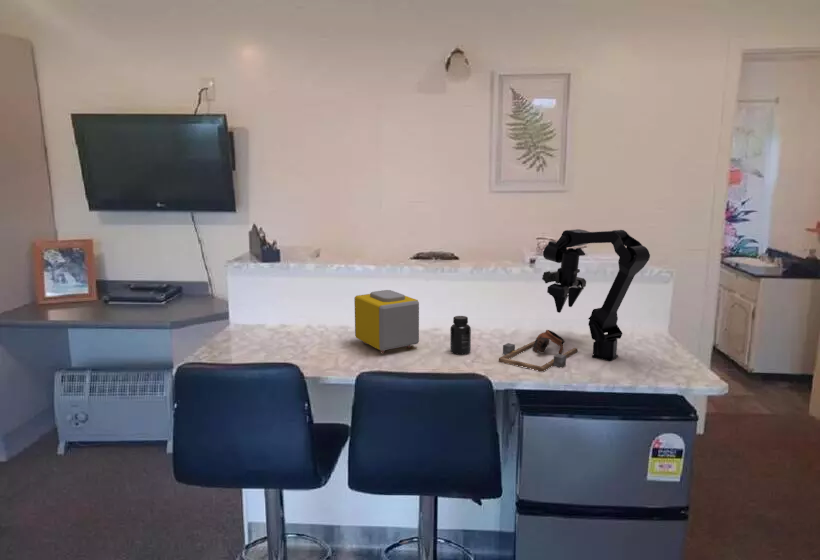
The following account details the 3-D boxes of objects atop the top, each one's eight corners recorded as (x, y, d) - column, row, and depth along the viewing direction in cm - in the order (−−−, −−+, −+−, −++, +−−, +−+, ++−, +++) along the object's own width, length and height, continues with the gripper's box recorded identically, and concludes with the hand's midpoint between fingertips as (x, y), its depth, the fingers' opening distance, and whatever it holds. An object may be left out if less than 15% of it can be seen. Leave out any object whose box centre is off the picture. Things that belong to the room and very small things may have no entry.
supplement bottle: (470, 349, 204) (471, 315, 202) (470, 355, 198) (471, 320, 195) (450, 348, 205) (450, 314, 203) (449, 354, 198) (450, 319, 196)
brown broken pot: (535, 346, 209) (548, 327, 207) (557, 363, 204) (571, 343, 202) (523, 347, 198) (537, 326, 197) (546, 364, 194) (560, 343, 192)
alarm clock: (421, 349, 205) (421, 296, 201) (381, 356, 196) (380, 302, 193) (392, 335, 221) (392, 286, 217) (354, 342, 213) (352, 291, 209)
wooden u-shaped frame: (585, 353, 199) (585, 344, 199) (550, 374, 180) (551, 363, 180) (529, 342, 212) (529, 333, 212) (491, 359, 193) (491, 350, 192)
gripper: (559, 257, 216) (555, 299, 220) (535, 266, 202) (531, 310, 206) (589, 263, 210) (583, 305, 214) (566, 272, 196) (561, 317, 200)
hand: (564, 309), depth 209 cm, fingers open, 9 cm apart
